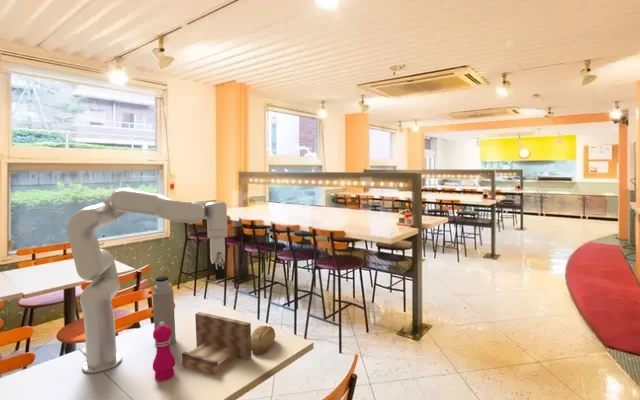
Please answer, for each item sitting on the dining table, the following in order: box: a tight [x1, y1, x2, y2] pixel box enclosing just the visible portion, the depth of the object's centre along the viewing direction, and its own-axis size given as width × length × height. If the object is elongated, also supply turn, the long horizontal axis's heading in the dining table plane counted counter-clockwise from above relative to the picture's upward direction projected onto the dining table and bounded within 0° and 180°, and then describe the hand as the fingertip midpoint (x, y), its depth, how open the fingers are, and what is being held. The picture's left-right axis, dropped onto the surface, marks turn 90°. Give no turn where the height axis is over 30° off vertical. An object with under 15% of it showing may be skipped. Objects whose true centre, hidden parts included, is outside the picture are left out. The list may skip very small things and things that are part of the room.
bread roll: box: [251, 325, 276, 355], centre depth 145 cm, size 10×15×8 cm, turn 172°
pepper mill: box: [152, 322, 176, 382], centre depth 124 cm, size 7×7×20 cm
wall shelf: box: [181, 311, 252, 376], centre depth 135 cm, size 26×14×14 cm, turn 65°
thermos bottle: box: [152, 275, 177, 346], centre depth 148 cm, size 8×8×28 cm
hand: (218, 275), depth 140 cm, fingers open, 9 cm apart
